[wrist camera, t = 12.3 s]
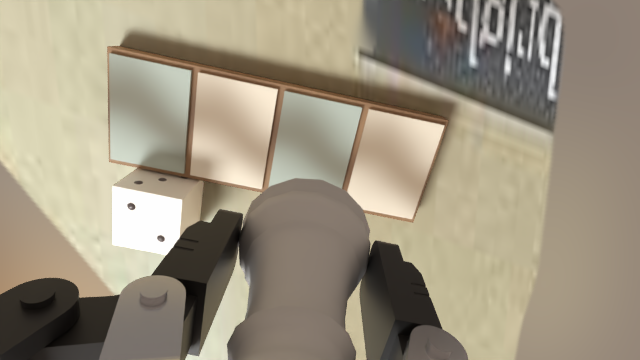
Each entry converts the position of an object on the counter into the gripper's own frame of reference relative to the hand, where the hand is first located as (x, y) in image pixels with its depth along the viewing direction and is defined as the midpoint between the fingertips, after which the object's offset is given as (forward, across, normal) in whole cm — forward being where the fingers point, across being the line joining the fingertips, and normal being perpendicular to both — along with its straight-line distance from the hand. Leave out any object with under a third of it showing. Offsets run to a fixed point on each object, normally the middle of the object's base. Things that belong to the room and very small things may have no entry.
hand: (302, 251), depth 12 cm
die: (+12, +9, +6) cm, 16 cm away
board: (+12, +3, 0) cm, 13 cm away
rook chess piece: (+2, 0, 0) cm, 2 cm away
